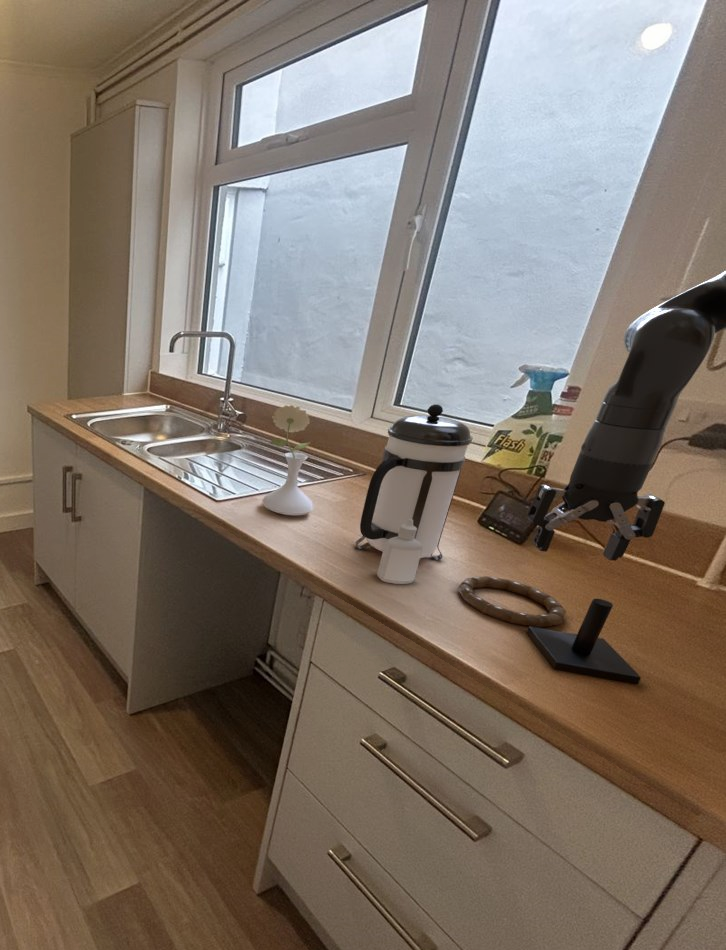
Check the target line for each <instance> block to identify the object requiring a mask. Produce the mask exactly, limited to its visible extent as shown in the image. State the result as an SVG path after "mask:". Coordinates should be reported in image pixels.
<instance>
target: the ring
mask: <svg viewBox="0 0 726 950" xmlns="http://www.w3.org/2000/svg"><path fill="white" fill-rule="evenodd" d="M485 587H486V588H491V589H492V588H493V589H500V590H505V591H509V592H513V593H515V594H519V595H521V596H525V597H527V598H529V599H531V600H533V601H534V602H537V603H539V604H541V605H542V606H544V607H545V608H546V609H547V611H548V613H545V614H531V613H526V612H525V613H524V612H518V611H513V610H509V609H507V608H504V607H501V606H499V605H494V604H492V603H490V602H488V601H487V600H485V599H483V598H482V597H480V596H478V594H477V595H476V593H475V592H474V590H473V589H476V588H485ZM457 591H458V593H459V594H460V596H461V597H462V599H463V601H464V602H465V603H466V604H468V605H470V606H471V607H473V608H474V609H476V610H479V611H480V612H482V613H483V614H485V615H488V616H491V617H494V618H496V619H498V620H502V621H504V622H507V623H511V624H516V625H520V626H521V625H522V626H528V627H535V628H542V627H552V626H558V625H560V624H561V623H562V622H563V620H564V619H565V617H566V615H567V610H566V608H564V606H563V605H562V604H561V603H560V602H559V601H558V600H557V599H556V598H554V597H553V596H551V595H549V594H548V593H545V592H543V591H541V590H540V589H538V588H536V587H533V586H531V585H528V584H524V583H521V582H518V581H514V580H511V579H508V578H500V577H495V576H494V577H492V576H485V575H483V576H475V577H466V578H464V580H463V581H462V582H461V583H460V584H459V585H458V586H457Z"/></svg>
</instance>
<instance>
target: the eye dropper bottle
mask: <svg viewBox="0 0 726 950" xmlns="http://www.w3.org/2000/svg"><path fill="white" fill-rule="evenodd" d="M416 531H417V528H416V527H415V526H413V520H412V519H408V521H407V523H406V524H403V525H401V527H400V530H399V534H398V536H397V537H393V538H390V539H388V540H387V541H386V543H385V546H384V550H383V552H382V553H381V558H380V560H379V561H380V562H379V565H378V570H377V573H376V575H377V577H378V578H379V579H380V580H381V581H382V582H384V583H388V584H393V585H394V584H395V585H408V584H411V583H414V580H415V577H416V573H417V570H418V566H419V563H420V560H421V558H420V556H421V553H422V549H423V546H422V544H421V543H420V542H419V541H418V540H416V539H414V538H415V534H416Z"/></svg>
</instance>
